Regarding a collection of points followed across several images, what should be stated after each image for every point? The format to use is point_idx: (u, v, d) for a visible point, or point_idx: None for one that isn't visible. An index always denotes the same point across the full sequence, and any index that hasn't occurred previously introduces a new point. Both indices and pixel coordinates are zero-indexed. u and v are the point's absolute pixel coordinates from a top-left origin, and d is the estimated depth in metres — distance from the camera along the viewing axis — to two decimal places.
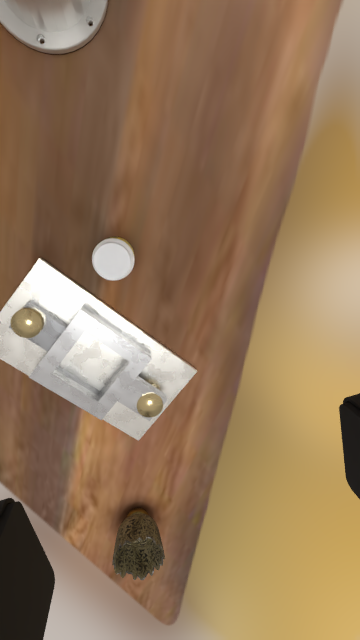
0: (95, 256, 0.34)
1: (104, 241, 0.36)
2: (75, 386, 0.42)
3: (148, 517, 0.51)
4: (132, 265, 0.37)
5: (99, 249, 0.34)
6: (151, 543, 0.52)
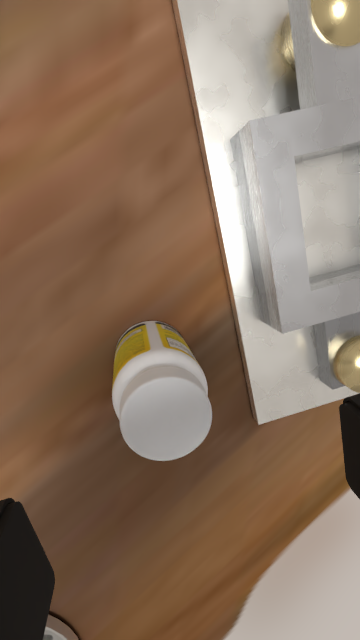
0: (189, 449, 0.14)
1: None
2: None
3: None
4: (133, 364, 0.15)
5: (171, 457, 0.14)
6: None
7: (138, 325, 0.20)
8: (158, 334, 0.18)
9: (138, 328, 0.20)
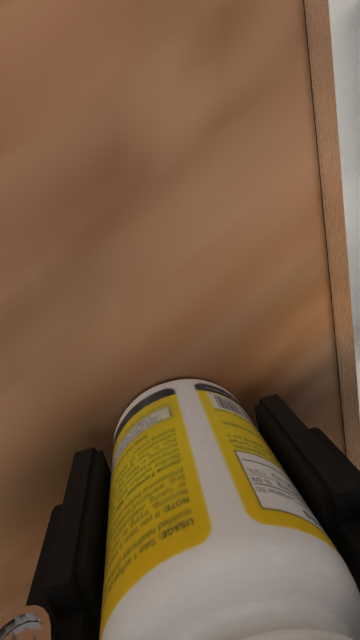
0: None
1: None
2: None
3: None
4: (164, 597, 0.05)
5: None
6: None
7: (160, 392, 0.10)
8: (213, 437, 0.08)
9: (161, 403, 0.09)
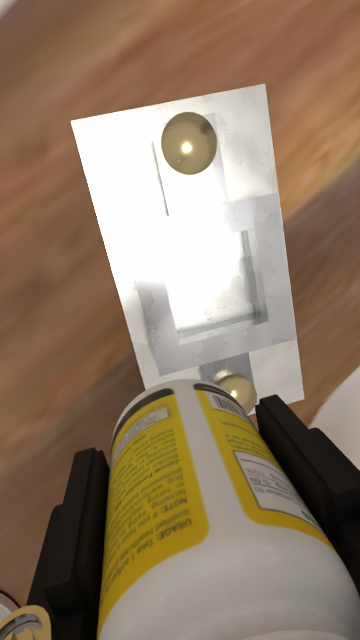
0: None
1: None
2: (260, 277, 0.24)
3: None
4: (162, 598, 0.05)
5: None
6: None
7: (159, 392, 0.10)
8: (212, 437, 0.08)
9: (160, 403, 0.09)
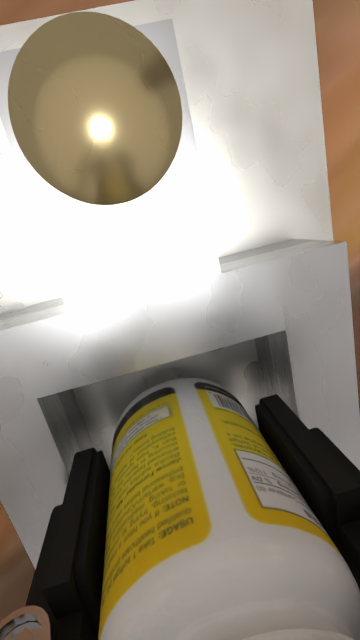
0: None
1: None
2: None
3: None
4: (164, 597, 0.05)
5: None
6: None
7: (160, 391, 0.10)
8: (213, 436, 0.08)
9: (161, 402, 0.09)
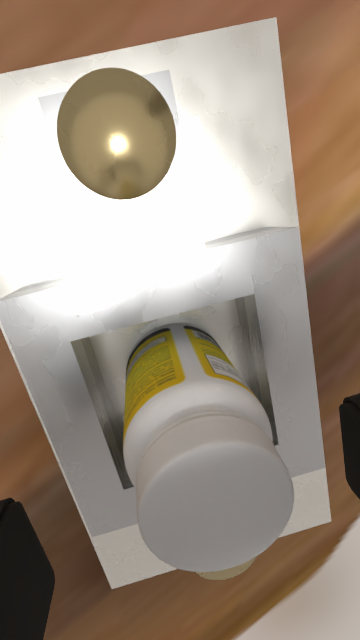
0: (253, 554, 0.08)
1: None
2: (264, 373, 0.14)
3: None
4: (159, 405, 0.09)
5: (223, 566, 0.08)
6: None
7: (160, 330, 0.14)
8: (192, 348, 0.12)
9: (160, 335, 0.14)
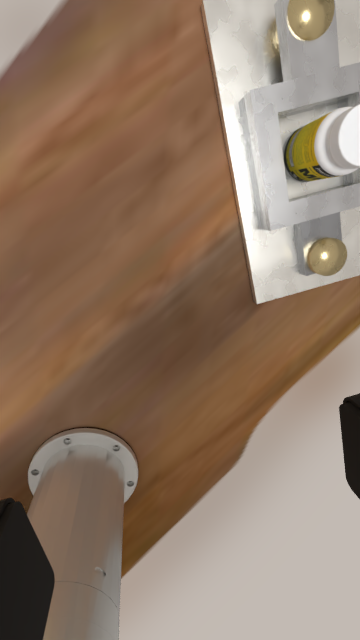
0: None
1: (336, 171, 0.25)
2: None
3: None
4: (334, 113, 0.24)
5: None
6: None
7: None
8: None
9: None
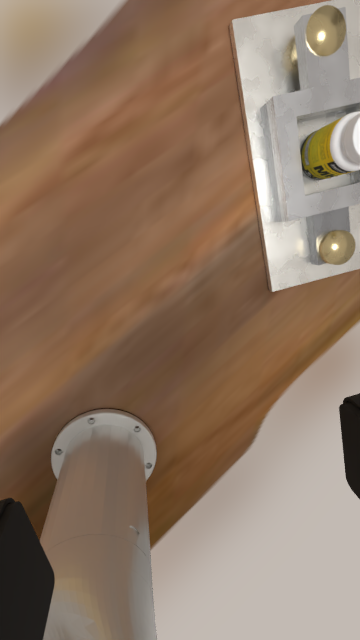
0: None
1: (348, 167, 0.28)
2: None
3: None
4: (347, 116, 0.27)
5: None
6: None
7: None
8: None
9: (320, 128, 0.32)
